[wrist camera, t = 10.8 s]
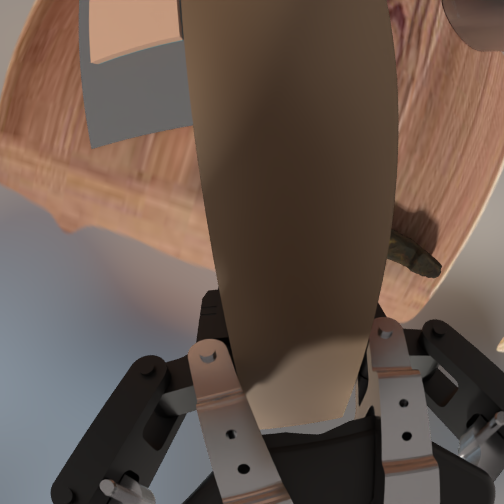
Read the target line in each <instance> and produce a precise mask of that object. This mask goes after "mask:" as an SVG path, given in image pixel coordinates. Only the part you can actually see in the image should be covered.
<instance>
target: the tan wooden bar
mask: <svg viewBox="0 0 504 504" xmlns="http://www.w3.org/2000/svg"><path fill="white" fill-rule="evenodd" d="M181 8H182V22H183V34H184V46H185V57H186V67H187V77H188V86H189V95H190V104H191V112H192V121H193V129H194V136H195V144H196V151H197V158H198V165H199V172H200V179H201V186H202V192H203V199H204V205H205V211H206V217H207V224H208V230H209V235H210V241H211V247H212V253H213V258H214V264H215V269H216V275H217V280H218V285H219V291H220V296H221V301H222V306H223V311H224V316H225V321H226V326H227V331H228V336H229V340H230V345H231V350H232V354H233V359H234V363H235V368H236V372H237V377H238V380H239V383H240V385H241V388H242V390H243V392H244V393H245V395H246V397H247V399H248V402H249V405H250V407H251V410H252V412H253V415H254V417H255V420H256V422H257V425H258V427H259V430H260V429H271V428H279V427H288V426H296V425H302V424H309V423H314V422H320V421H325V420H331V419H336V418H341V417H343V414H344V412H345V409H346V406H347V404H348V401H349V398H350V395H351V393H352V390H353V387H354V384H355V382H356V379H357V376H358V372H359V369H360V366H361V363H362V360H363V357H364V353H365V350H366V346H367V343H368V339H369V336H370V332H371V328H372V324H373V320H374V316H375V312H376V308H377V304H378V300H379V295H380V290H381V286H382V281H383V276H384V270H385V265H386V259H387V253H388V247H389V241H390V234H391V227H392V219H393V210H394V201H395V190H396V178H397V161H398V89H397V73H396V61H395V52H394V43H393V35H392V29H391V22H390V16H389V11H388V5H387V0H181Z"/></svg>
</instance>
